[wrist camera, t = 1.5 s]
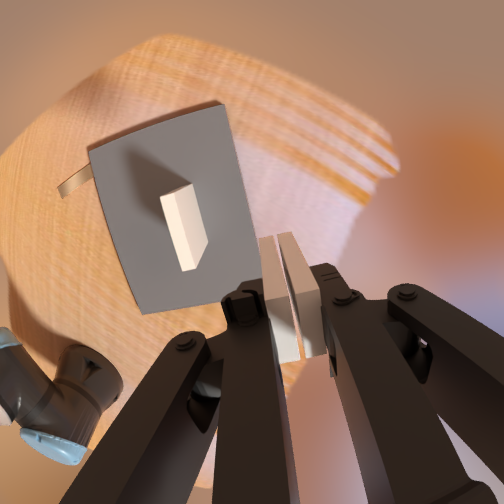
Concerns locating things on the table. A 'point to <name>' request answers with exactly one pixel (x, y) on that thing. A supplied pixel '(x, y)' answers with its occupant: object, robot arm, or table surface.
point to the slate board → (152, 216)
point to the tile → (185, 225)
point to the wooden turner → (76, 181)
